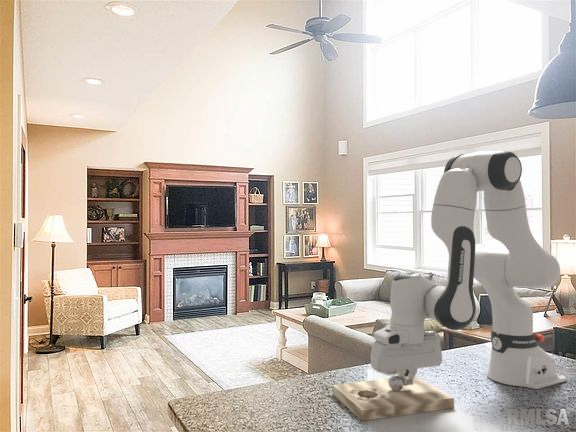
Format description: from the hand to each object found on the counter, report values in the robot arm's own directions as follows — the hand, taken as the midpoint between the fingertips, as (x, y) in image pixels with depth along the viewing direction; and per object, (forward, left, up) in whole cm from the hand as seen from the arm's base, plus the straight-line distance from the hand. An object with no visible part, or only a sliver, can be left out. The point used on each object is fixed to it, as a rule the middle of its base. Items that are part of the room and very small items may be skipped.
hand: (407, 384), depth 125 cm
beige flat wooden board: (+5, 0, -4) cm, 6 cm away
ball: (+3, 0, +1) cm, 3 cm away
